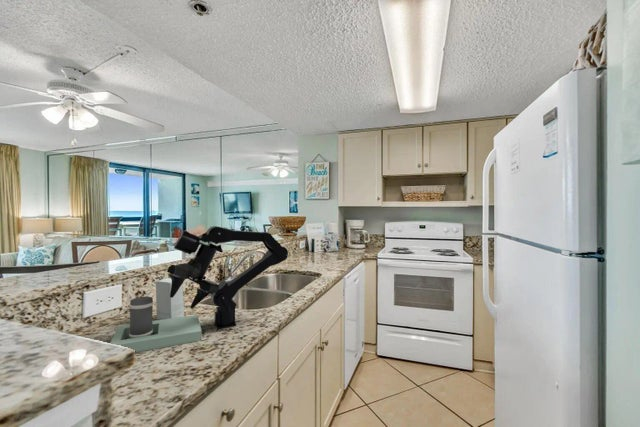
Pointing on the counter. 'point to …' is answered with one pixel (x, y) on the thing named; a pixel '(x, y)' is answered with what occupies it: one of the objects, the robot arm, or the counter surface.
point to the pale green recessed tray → (161, 334)
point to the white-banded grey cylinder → (141, 317)
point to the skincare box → (168, 300)
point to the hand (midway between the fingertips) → (181, 302)
